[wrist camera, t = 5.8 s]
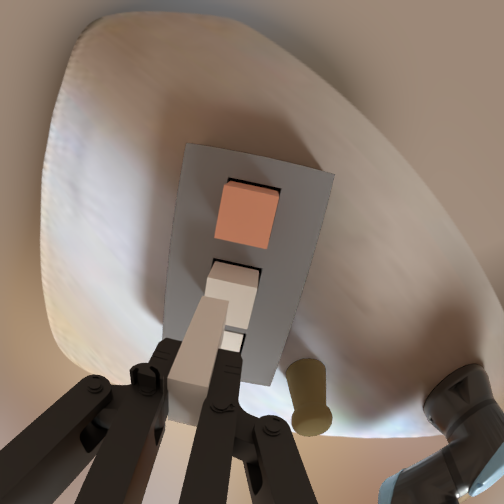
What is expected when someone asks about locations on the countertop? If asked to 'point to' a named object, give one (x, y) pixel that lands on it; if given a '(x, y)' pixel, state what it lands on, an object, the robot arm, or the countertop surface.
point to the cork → (309, 397)
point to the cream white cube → (233, 291)
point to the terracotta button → (246, 214)
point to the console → (244, 247)
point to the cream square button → (232, 340)
